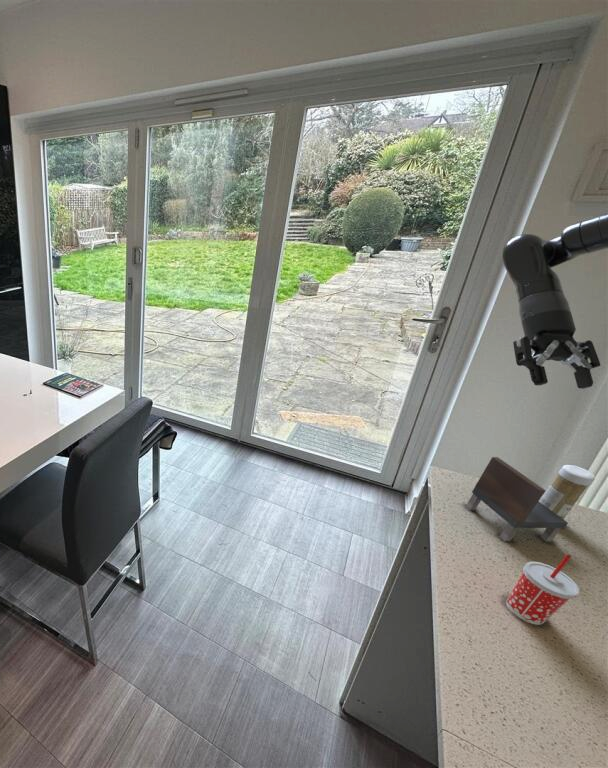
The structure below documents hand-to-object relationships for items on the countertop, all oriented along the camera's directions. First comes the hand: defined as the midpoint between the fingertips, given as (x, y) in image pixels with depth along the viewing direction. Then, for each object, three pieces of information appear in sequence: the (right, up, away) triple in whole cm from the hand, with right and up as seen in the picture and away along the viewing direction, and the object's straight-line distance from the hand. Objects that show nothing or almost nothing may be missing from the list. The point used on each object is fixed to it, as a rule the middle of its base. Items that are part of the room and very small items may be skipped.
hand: (563, 386), depth 85 cm
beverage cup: (-27, -38, -17) cm, 50 cm away
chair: (-12, -29, 0) cm, 32 cm away
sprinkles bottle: (-2, -29, +2) cm, 29 cm away
